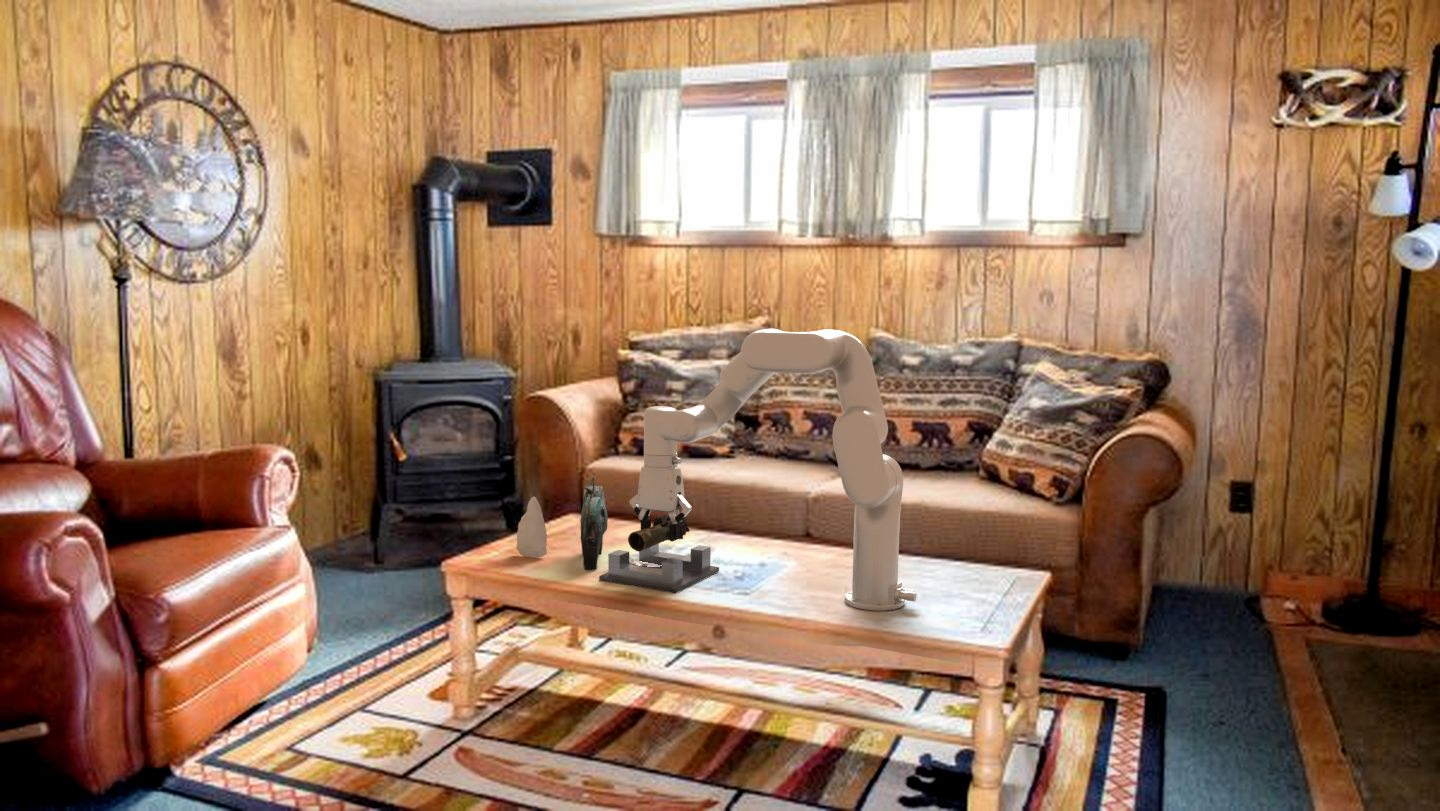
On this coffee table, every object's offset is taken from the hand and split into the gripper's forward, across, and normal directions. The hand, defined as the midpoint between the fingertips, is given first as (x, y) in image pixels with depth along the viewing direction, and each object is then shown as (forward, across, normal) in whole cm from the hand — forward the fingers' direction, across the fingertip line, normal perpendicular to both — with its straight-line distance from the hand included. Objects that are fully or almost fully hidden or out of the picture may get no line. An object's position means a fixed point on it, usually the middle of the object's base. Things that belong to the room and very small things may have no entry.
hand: (660, 537), depth 248 cm
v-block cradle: (+9, 0, 0) cm, 9 cm away
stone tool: (+9, +36, +1) cm, 37 cm away
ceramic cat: (+9, +21, -4) cm, 23 cm away
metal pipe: (+2, 0, 0) cm, 2 cm away
